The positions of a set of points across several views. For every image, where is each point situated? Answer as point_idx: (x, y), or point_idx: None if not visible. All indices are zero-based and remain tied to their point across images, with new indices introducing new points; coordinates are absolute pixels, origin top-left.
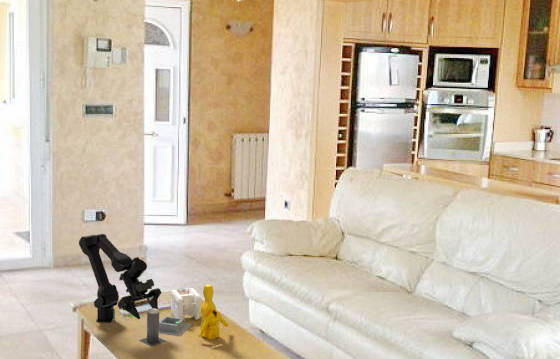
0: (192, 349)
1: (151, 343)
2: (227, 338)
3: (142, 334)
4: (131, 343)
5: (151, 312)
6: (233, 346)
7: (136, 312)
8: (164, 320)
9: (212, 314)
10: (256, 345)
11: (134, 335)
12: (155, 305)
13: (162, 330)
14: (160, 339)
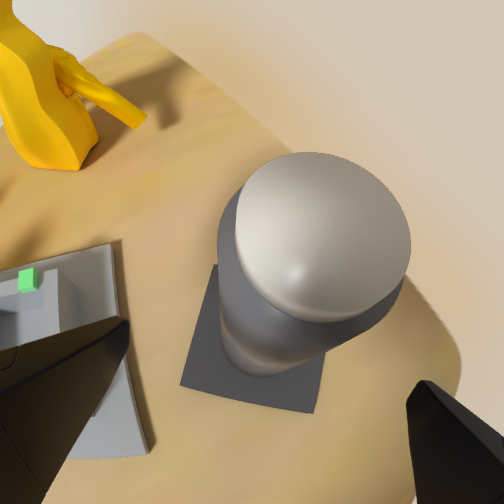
0: (216, 138)
1: None
2: None
3: (195, 471)
4: (353, 426)
5: (395, 209)
6: (125, 79)
7: (481, 422)
8: None
9: (54, 49)
10: (100, 59)
11: (242, 499)
12: (54, 370)
13: None
14: (214, 309)
